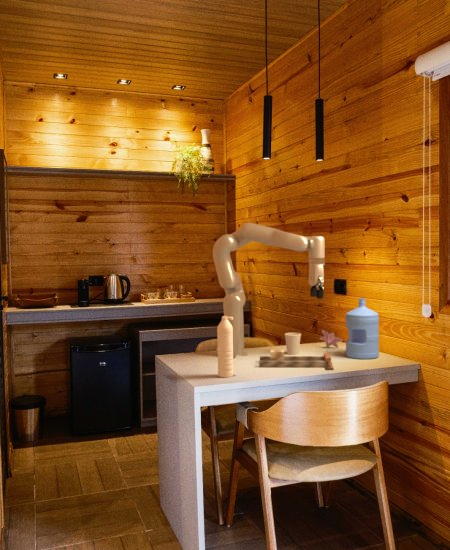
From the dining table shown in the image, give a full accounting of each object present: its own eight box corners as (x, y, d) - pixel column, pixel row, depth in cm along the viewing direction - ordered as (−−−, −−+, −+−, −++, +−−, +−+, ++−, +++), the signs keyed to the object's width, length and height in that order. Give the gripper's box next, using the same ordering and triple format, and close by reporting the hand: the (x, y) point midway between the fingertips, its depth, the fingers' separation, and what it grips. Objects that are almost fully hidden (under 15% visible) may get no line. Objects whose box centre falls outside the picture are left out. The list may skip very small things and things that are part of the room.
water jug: (367, 352, 281) (367, 296, 280) (385, 358, 266) (385, 299, 265) (339, 354, 276) (339, 298, 275) (356, 360, 261) (356, 300, 260)
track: (259, 369, 245) (259, 358, 244) (259, 363, 259) (259, 352, 258) (333, 369, 242) (333, 358, 242) (330, 363, 256) (330, 352, 256)
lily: (344, 352, 289) (346, 334, 293) (326, 344, 285) (329, 327, 289) (329, 355, 299) (332, 339, 303) (312, 348, 295) (314, 331, 299)
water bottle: (215, 375, 235) (214, 315, 234) (228, 373, 238) (227, 314, 237) (225, 379, 227) (224, 318, 226) (239, 377, 231) (238, 316, 229)
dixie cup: (303, 352, 283) (303, 333, 282) (298, 355, 275) (297, 335, 275) (288, 351, 287) (287, 332, 286) (282, 354, 279) (281, 334, 279)
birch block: (270, 365, 248) (270, 352, 248) (270, 362, 254) (270, 349, 254) (284, 365, 248) (284, 352, 247) (284, 362, 254) (283, 349, 253)
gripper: (304, 261, 277) (304, 296, 278) (314, 262, 260) (314, 299, 261) (318, 261, 278) (318, 295, 279) (330, 262, 261) (330, 298, 262)
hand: (316, 297), depth 270 cm, fingers open, 9 cm apart
